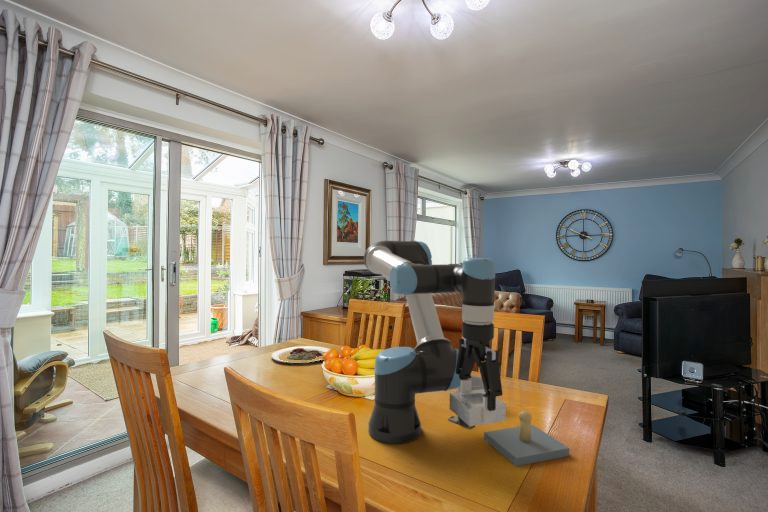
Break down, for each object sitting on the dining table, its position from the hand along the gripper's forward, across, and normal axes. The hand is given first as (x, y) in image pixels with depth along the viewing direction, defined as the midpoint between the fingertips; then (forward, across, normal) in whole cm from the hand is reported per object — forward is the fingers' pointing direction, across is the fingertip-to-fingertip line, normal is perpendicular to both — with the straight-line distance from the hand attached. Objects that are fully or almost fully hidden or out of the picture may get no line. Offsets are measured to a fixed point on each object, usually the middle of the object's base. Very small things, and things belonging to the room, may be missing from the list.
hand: (476, 413), depth 92 cm
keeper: (+13, +4, -17) cm, 21 cm away
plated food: (+14, +110, +30) cm, 115 cm away
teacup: (+13, +36, -20) cm, 43 cm away
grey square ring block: (0, 0, 0) cm, 0 cm away
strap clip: (+13, +22, -8) cm, 27 cm away
